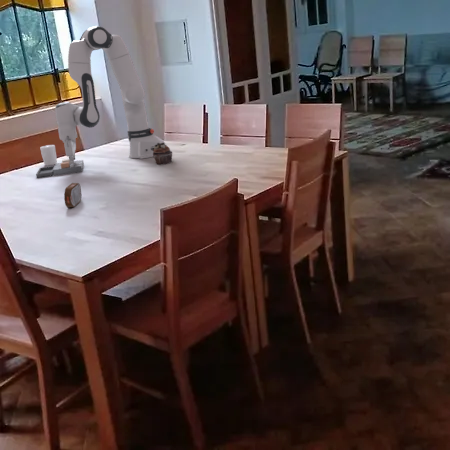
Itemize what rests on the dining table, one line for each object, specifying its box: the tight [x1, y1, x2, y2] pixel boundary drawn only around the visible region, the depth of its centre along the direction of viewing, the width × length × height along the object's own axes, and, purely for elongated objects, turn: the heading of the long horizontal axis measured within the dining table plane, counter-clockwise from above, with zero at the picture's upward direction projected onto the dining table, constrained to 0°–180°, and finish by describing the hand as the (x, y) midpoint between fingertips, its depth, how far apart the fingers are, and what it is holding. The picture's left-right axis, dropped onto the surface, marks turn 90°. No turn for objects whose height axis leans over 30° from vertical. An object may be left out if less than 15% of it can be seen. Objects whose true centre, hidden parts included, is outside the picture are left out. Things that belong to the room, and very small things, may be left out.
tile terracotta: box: [60, 161, 70, 168], centre depth 324 cm, size 4×4×2 cm
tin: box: [63, 182, 83, 209], centre depth 260 cm, size 15×3×8 cm, turn 175°
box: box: [35, 165, 55, 179], centre depth 328 cm, size 8×16×2 cm, turn 9°
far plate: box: [53, 159, 85, 177], centre depth 329 cm, size 14×16×3 cm
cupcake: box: [153, 143, 173, 166], centre depth 320 cm, size 10×10×10 cm
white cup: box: [40, 144, 58, 167], centre depth 350 cm, size 8×8×10 cm
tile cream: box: [61, 158, 70, 163], centre depth 332 cm, size 4×4×2 cm
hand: (73, 161), depth 328 cm, fingers open, 8 cm apart
